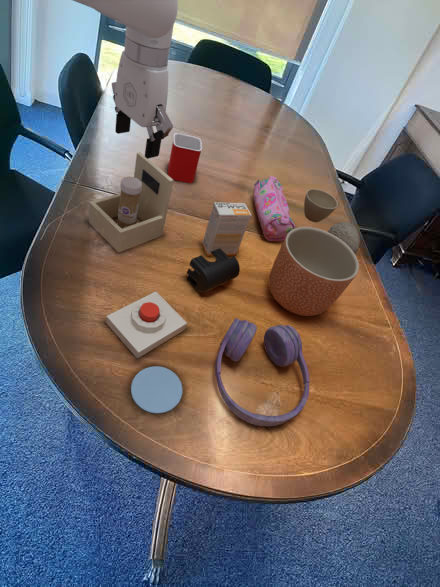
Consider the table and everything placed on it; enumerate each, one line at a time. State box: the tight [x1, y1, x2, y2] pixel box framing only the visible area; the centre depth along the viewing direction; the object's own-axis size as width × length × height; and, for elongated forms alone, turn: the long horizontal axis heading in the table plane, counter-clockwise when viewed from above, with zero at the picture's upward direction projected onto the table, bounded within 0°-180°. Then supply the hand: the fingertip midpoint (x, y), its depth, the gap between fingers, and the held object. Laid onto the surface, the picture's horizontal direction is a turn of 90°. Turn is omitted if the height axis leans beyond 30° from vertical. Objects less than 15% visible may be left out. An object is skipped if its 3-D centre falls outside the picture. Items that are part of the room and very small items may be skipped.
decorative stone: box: [327, 221, 360, 255], centre depth 107 cm, size 10×8×10 cm
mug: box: [167, 132, 203, 184], centre depth 115 cm, size 12×8×11 cm
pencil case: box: [252, 175, 296, 242], centre depth 110 cm, size 21×9×9 cm, turn 4°
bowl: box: [303, 188, 339, 223], centre depth 118 cm, size 10×10×7 cm
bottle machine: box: [88, 151, 175, 253], centre depth 88 cm, size 13×12×16 cm
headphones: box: [214, 317, 311, 427], centre depth 73 cm, size 18×8×20 cm
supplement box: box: [201, 201, 252, 257], centre depth 94 cm, size 8×5×13 cm, turn 108°
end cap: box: [186, 248, 241, 293], centre depth 87 cm, size 10×7×7 cm
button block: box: [105, 291, 188, 359], centre depth 75 cm, size 12×10×4 cm
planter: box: [268, 226, 360, 317], centre depth 88 cm, size 17×17×15 cm
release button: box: [139, 302, 160, 322], centre depth 73 cm, size 4×4×2 cm
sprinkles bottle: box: [116, 176, 142, 229], centre depth 89 cm, size 5×5×14 cm
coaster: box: [130, 365, 183, 415], centre depth 68 cm, size 9×9×1 cm
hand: (136, 144), depth 79 cm, fingers open, 9 cm apart
